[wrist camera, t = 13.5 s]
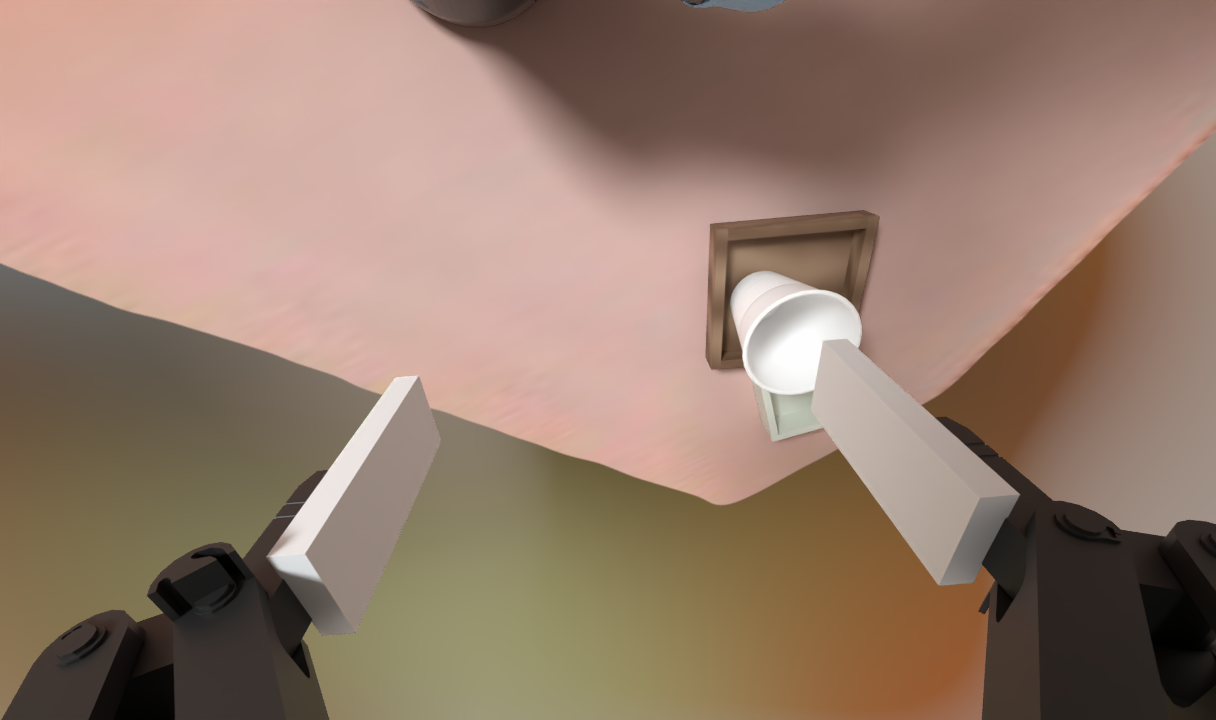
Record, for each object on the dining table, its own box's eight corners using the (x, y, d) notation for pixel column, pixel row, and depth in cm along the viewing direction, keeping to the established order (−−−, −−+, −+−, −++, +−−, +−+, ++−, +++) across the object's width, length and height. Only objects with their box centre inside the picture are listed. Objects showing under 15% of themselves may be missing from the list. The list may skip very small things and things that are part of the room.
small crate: (748, 363, 52) (759, 381, 48) (826, 338, 50) (844, 356, 47) (761, 421, 56) (772, 442, 52) (833, 400, 55) (850, 420, 51)
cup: (806, 241, 44) (867, 278, 34) (805, 330, 49) (858, 384, 39) (706, 262, 45) (739, 304, 35) (715, 347, 49) (746, 405, 40)
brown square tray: (710, 223, 43) (717, 230, 41) (863, 210, 43) (880, 216, 41) (705, 357, 51) (711, 369, 48) (836, 345, 51) (848, 357, 48)
